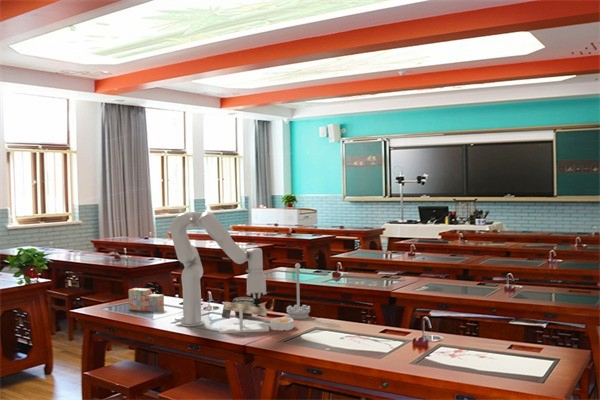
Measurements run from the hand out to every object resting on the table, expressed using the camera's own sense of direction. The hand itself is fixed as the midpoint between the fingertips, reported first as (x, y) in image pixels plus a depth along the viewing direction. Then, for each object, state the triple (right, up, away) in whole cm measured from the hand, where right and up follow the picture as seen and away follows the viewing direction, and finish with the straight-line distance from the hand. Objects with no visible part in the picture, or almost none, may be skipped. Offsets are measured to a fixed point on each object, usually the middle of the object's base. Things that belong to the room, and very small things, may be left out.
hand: (257, 305), depth 314 cm
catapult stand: (-6, -10, -12) cm, 17 cm away
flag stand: (+22, -9, +15) cm, 28 cm away
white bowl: (+14, -10, -10) cm, 20 cm away
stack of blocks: (-70, -10, +40) cm, 81 cm away
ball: (+15, -7, -10) cm, 19 cm away
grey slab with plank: (-7, -5, -7) cm, 11 cm away
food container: (-8, -9, +20) cm, 23 cm away
